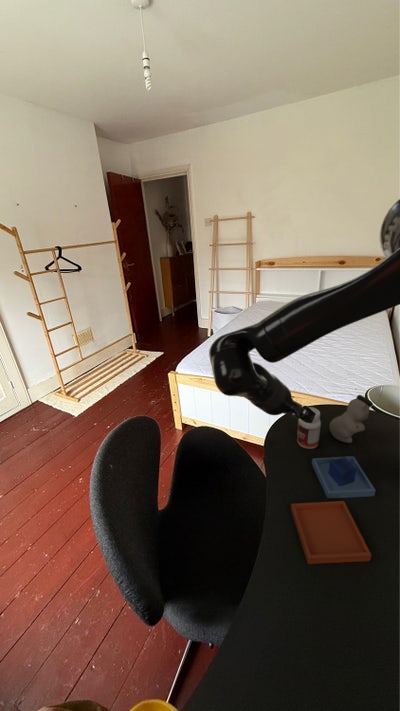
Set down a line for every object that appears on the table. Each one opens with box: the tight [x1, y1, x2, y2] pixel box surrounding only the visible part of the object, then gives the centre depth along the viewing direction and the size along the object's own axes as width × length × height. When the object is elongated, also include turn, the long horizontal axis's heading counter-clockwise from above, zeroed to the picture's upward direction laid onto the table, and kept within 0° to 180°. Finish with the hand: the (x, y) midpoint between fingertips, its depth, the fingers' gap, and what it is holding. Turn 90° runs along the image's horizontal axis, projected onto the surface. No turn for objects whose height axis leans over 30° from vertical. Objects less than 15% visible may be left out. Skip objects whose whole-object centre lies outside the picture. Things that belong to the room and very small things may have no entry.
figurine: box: [328, 394, 374, 444], centre depth 87 cm, size 9×10×15 cm
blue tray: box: [311, 455, 376, 500], centre depth 76 cm, size 11×11×2 cm
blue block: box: [328, 456, 357, 486], centre depth 76 cm, size 4×4×4 cm
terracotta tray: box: [290, 500, 372, 565], centre depth 64 cm, size 12×12×2 cm
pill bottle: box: [296, 406, 322, 450], centre depth 87 cm, size 6×6×11 cm
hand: (292, 412), depth 75 cm, fingers open, 8 cm apart
